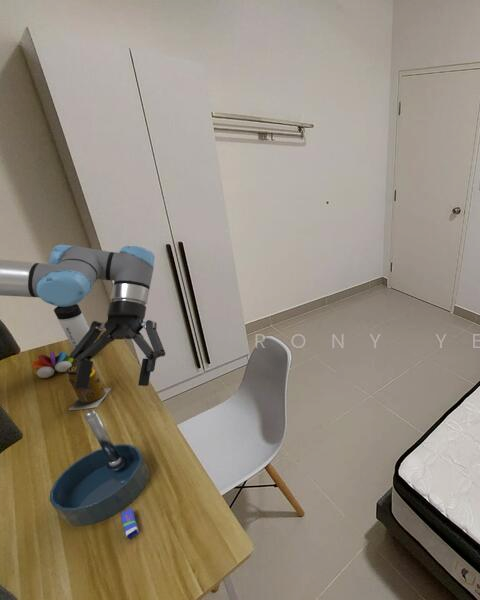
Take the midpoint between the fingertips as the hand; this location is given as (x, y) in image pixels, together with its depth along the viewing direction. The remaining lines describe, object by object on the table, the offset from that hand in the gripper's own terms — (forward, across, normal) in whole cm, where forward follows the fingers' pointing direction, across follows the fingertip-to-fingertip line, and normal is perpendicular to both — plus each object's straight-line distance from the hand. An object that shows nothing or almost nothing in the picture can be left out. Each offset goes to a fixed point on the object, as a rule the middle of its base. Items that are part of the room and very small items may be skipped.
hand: (112, 387), depth 79 cm
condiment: (+2, +23, -27) cm, 36 cm away
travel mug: (-15, +39, -44) cm, 61 cm away
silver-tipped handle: (+19, 0, -8) cm, 21 cm away
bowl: (+24, 0, -5) cm, 24 cm away
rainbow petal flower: (-9, +43, -38) cm, 58 cm away
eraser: (+30, -10, +1) cm, 32 cm away
